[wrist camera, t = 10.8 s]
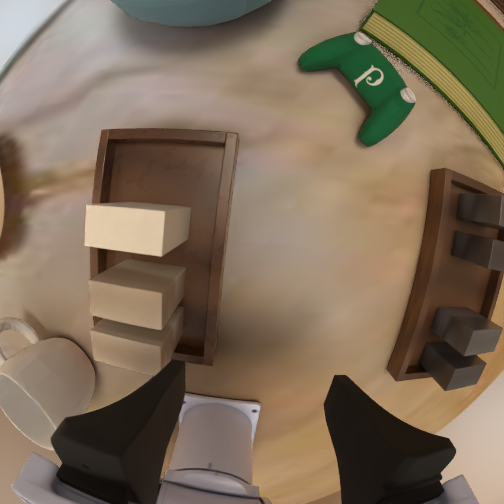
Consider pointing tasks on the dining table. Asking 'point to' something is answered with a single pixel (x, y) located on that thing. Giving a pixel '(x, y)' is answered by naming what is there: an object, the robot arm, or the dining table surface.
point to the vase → (188, 10)
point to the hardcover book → (450, 55)
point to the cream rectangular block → (136, 227)
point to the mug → (43, 383)
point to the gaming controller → (365, 81)
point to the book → (499, 4)
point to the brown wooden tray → (172, 263)
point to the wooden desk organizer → (454, 285)
